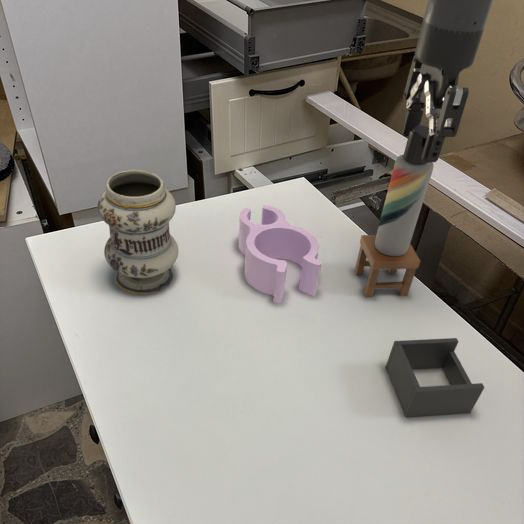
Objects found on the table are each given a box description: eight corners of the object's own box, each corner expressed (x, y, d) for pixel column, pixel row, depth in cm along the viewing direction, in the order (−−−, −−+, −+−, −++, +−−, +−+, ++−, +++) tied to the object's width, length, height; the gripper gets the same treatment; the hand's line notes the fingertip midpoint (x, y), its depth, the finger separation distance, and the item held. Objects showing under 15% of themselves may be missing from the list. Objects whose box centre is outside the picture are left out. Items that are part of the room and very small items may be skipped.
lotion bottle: (391, 234, 91) (424, 118, 77) (414, 251, 88) (453, 133, 74) (367, 243, 89) (396, 124, 75) (389, 260, 86) (424, 140, 72)
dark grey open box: (444, 365, 81) (456, 337, 77) (469, 415, 74) (484, 387, 70) (384, 369, 79) (394, 340, 75) (404, 419, 73) (416, 391, 69)
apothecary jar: (149, 309, 85) (137, 211, 73) (94, 282, 89) (74, 184, 77) (193, 273, 93) (190, 179, 80) (141, 250, 97) (130, 156, 84)
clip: (222, 243, 100) (223, 211, 95) (282, 233, 104) (285, 201, 99) (262, 308, 87) (265, 275, 83) (328, 294, 91) (335, 261, 86)
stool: (394, 271, 98) (405, 234, 92) (408, 298, 92) (420, 261, 86) (352, 272, 96) (361, 235, 91) (364, 300, 91) (374, 262, 85)
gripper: (508, 38, 60) (461, 170, 72) (460, 6, 70) (425, 128, 82) (447, 35, 59) (409, 171, 71) (407, 4, 69) (379, 127, 81)
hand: (418, 147), depth 76 cm, fingers open, 8 cm apart
